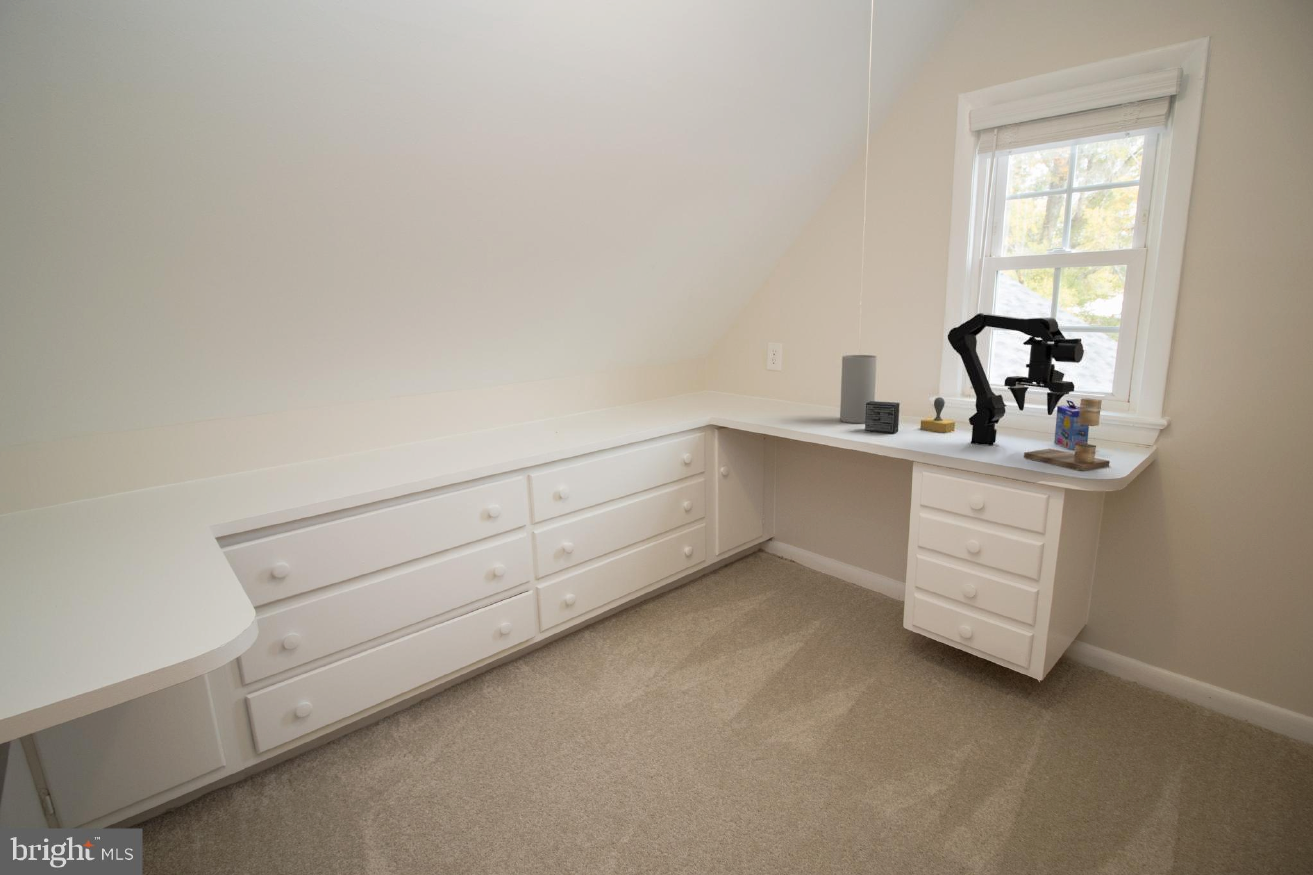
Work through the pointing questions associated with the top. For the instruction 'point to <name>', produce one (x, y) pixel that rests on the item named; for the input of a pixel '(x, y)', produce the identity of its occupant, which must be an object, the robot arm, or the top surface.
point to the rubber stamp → (938, 420)
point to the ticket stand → (1070, 457)
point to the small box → (882, 417)
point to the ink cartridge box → (1070, 427)
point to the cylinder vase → (857, 386)
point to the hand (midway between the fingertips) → (1035, 412)
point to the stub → (1089, 412)
